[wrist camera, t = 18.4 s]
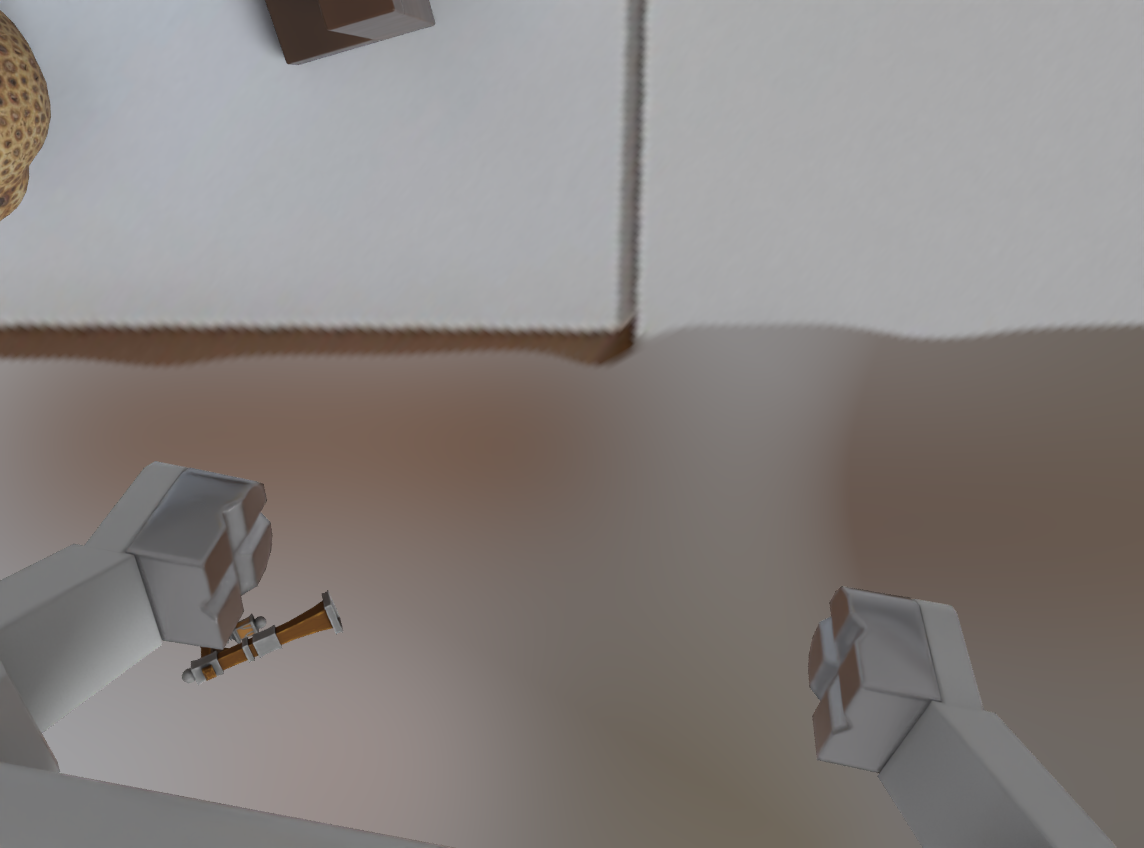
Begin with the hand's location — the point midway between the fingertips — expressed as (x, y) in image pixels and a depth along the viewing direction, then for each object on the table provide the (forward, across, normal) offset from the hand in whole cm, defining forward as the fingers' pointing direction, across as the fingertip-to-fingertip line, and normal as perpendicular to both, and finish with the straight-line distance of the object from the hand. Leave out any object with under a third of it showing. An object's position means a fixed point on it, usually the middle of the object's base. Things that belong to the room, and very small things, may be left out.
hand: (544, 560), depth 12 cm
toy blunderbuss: (+19, +14, +31) cm, 39 cm away
